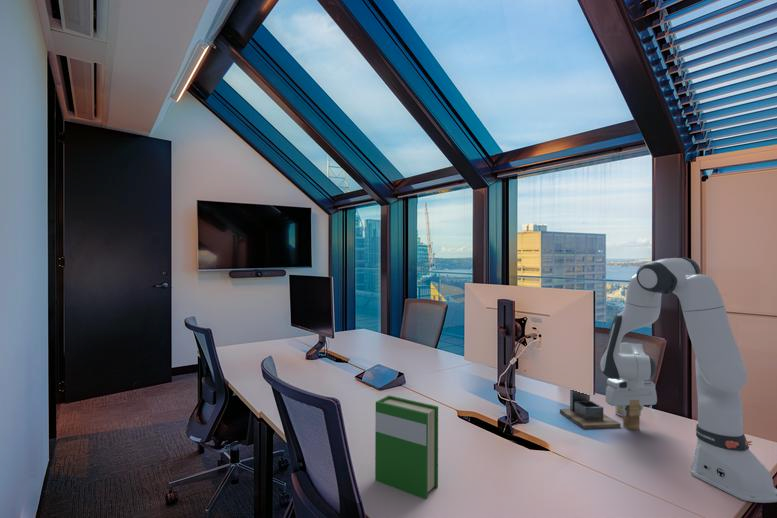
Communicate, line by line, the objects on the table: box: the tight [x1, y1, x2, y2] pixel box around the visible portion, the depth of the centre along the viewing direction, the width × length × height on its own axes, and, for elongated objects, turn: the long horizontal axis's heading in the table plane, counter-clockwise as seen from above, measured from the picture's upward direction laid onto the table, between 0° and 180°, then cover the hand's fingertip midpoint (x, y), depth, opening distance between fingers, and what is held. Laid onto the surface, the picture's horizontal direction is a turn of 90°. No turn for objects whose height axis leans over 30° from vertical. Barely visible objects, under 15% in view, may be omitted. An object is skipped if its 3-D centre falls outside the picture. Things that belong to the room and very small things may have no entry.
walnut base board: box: [559, 408, 621, 430], centre depth 172 cm, size 18×16×2 cm
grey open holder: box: [569, 389, 604, 420], centre depth 173 cm, size 12×8×14 cm
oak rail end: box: [622, 400, 640, 431], centre depth 163 cm, size 4×4×12 cm
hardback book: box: [374, 395, 439, 500], centre depth 121 cm, size 18×7×24 cm, turn 56°
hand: (631, 415), depth 163 cm, fingers closed on oak rail end, 4 cm apart
